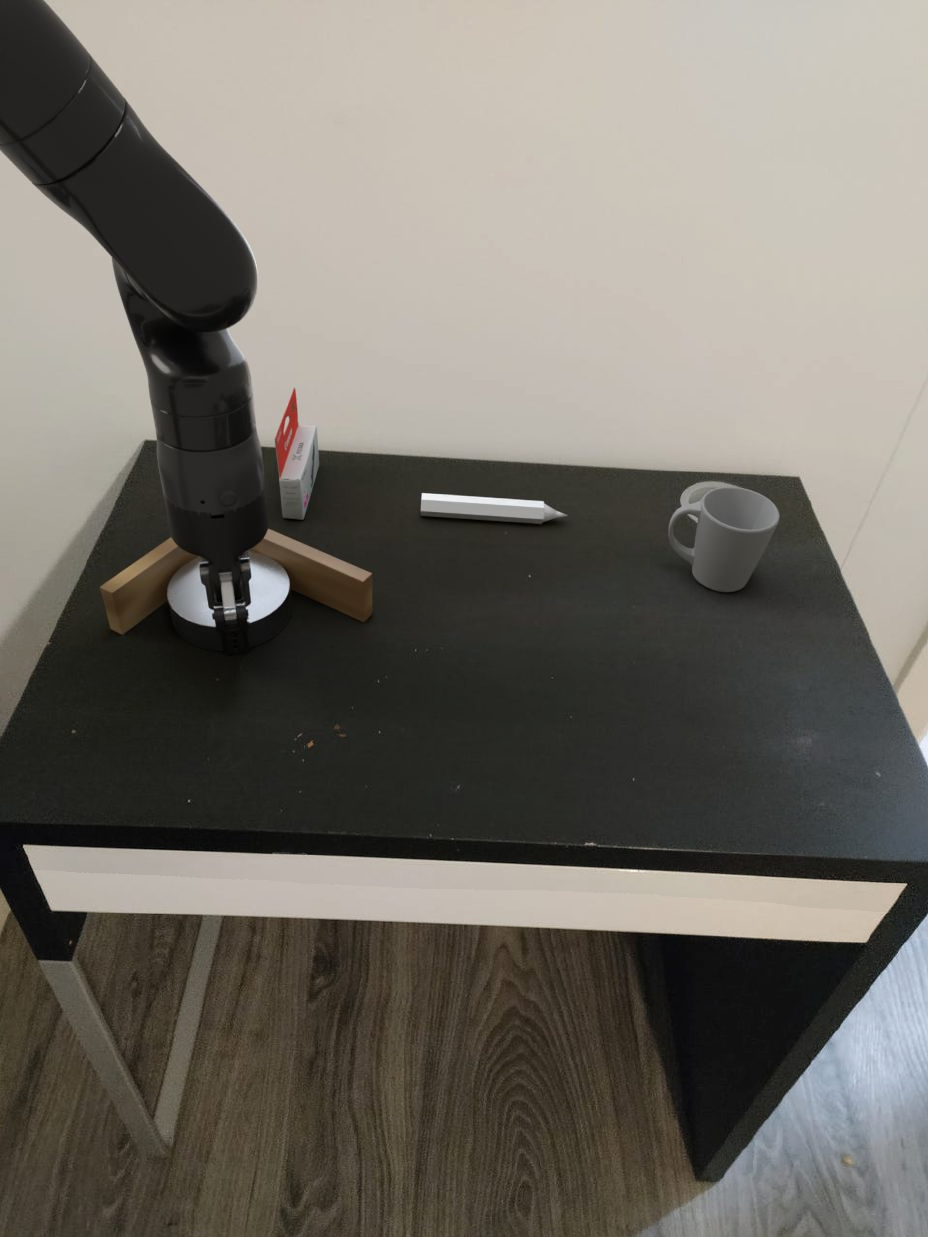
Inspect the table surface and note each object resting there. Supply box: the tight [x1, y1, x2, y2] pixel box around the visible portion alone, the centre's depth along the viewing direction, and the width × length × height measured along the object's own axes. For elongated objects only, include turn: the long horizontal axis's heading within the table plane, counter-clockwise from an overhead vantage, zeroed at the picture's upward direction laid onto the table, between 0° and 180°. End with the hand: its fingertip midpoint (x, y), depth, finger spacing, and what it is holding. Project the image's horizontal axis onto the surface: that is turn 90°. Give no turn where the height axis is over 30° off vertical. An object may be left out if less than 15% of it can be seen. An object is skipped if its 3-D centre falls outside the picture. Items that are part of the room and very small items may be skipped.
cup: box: [668, 486, 780, 593], centre depth 93 cm, size 8×10×8 cm
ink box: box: [274, 387, 320, 521], centre depth 99 cm, size 2×11×10 cm, turn 178°
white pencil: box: [420, 492, 569, 525], centre depth 100 cm, size 3×2×16 cm
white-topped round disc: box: [167, 551, 293, 652], centre depth 86 cm, size 11×11×3 cm
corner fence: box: [99, 528, 373, 636], centre depth 85 cm, size 15×18×5 cm
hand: (236, 649), depth 81 cm, fingers closed
